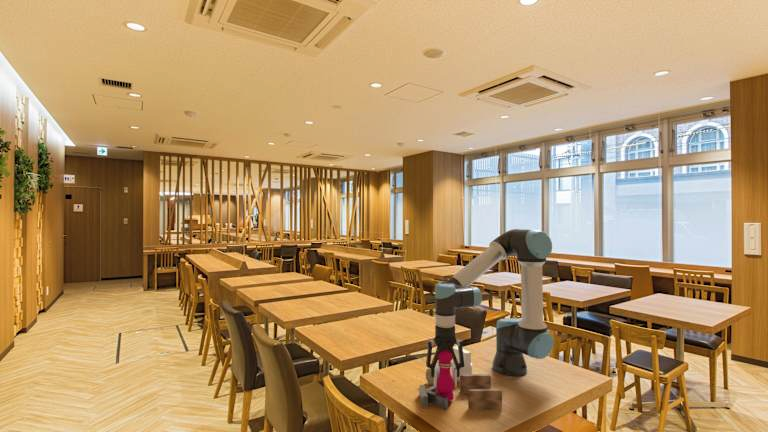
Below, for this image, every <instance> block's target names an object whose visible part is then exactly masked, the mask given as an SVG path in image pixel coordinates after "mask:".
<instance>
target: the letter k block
mask: <svg viewBox="0 0 768 432" xmlns="http://www.w3.org/2000/svg"><path fill="white" fill-rule="evenodd" d="M418 388H419V390H418V391H419V392H418V393H419V394H418V395H419V400H420V403H421V408H423V409H424V408H427V409H429V405H432V406H434V407H437V408H439V409H442V410H444V411H446V410H447V409H449V401H448V397H446V396H443V395H440V394H438V393H437V392H438V390H437V389H436V387H434V385H433V386H431V385H430V387H428V388H426V386H425V385H424V384H419V385H418Z"/></svg>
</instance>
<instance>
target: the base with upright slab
mask: <svg viewBox="0 0 768 432" xmlns="http://www.w3.org/2000/svg"><path fill="white" fill-rule="evenodd" d="M462 349H463V357H464V367H461V368H460V370H459V377H457V382H460V374H473V363H472V352H471V351H469V350H467V349H465V348H463V347H462ZM453 350H454V353H455V356H456V358H457V361H458V363H460V360H459V351H458V345H456V346H453ZM451 363H452V364H451V365H452V366H451V367H450V373H451V377H452V379H453V367H456V366H455V363H454V361H453V360H451Z"/></svg>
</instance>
